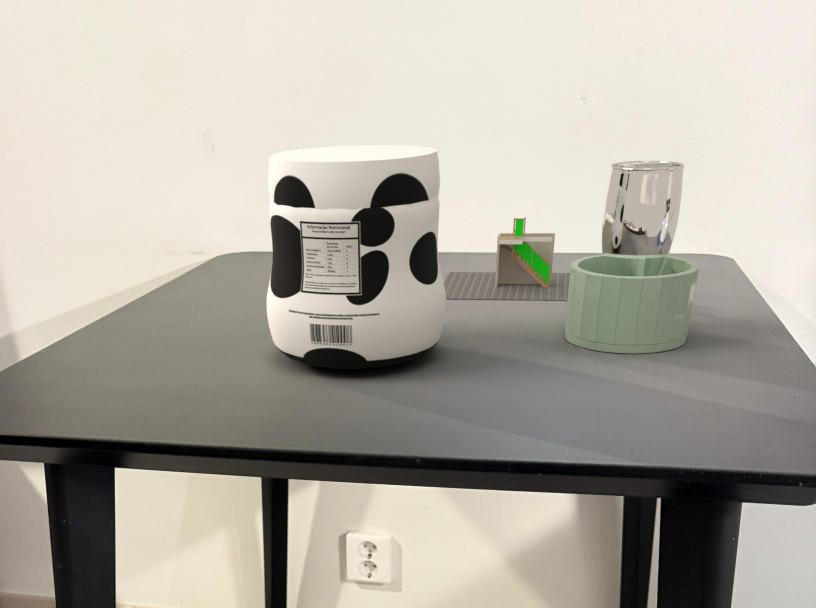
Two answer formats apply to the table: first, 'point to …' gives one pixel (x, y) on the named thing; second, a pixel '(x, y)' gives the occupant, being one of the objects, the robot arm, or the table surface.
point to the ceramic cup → (629, 307)
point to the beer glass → (640, 217)
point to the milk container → (355, 255)
